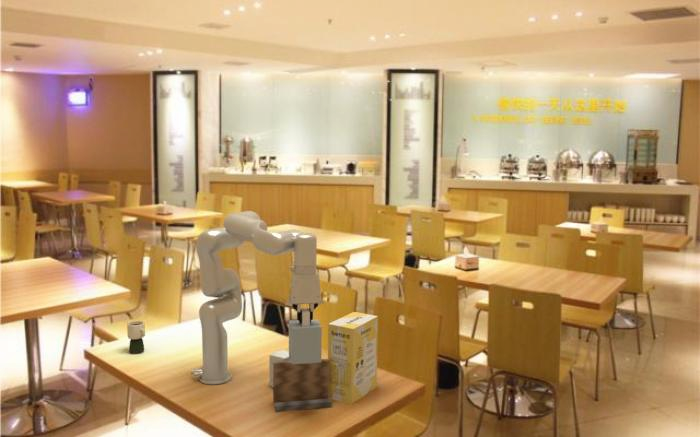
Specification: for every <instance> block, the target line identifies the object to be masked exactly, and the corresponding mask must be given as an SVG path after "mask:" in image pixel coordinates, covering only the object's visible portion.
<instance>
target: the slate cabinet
mask: <svg viewBox="0 0 700 437" xmlns="http://www.w3.org/2000/svg"><path fill="white" fill-rule="evenodd" d="M301 312H302V324H300V323H299V321H298V320H297V319H296V320H295V319H294V320H288V351H289V357H291V363H292V364H306V363H321V359H322V343H323V342H322V337H323V336H322V331H323V330H322V325H321V324H320V321H319V320H318V318H315V319H314V318H313V320H311V323H310V311H309V306H308V307H301Z"/></svg>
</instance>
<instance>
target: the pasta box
mask: <svg viewBox="0 0 700 437" xmlns="http://www.w3.org/2000/svg"><path fill="white" fill-rule="evenodd" d="M378 325H379V316H378V315H374V314H368V313H364V312H356V311H353V312H350V313H348V314H347V315H344V316H342V317H340V318H337V319H336V320H334V321H332V322H330V323H328V325H327V326H328V327H327V333H328V334H327V359H329V398H331V400H335V401H338V402H342V403H346V404H350V405H353V404H354V403H356V402H357V401H358V400H360V399H362V398H363V397H365V395H367V394H369V393H370V392H371V391H373V390H374V389H376V388H377V382H378V381H377V376H378V375H377V373H378V338H379V337H378V336H379V335H378V332H379V330H378V328H379V326H378Z"/></svg>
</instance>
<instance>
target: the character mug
mask: <svg viewBox="0 0 700 437" xmlns="http://www.w3.org/2000/svg"><path fill="white" fill-rule="evenodd" d="M145 329H146V328H145V321H143V320H132V321H129V322H127V325H126V330H127V338H128V339H129V347H128V348H129V349H128V352H129V353H132V354H136V353H138V352H139V353H141V352H144V351H145V344H144V339H143V338H144V337H145V336H146V330H145Z"/></svg>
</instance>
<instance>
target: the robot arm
mask: <svg viewBox="0 0 700 437" xmlns="http://www.w3.org/2000/svg"><path fill="white" fill-rule="evenodd" d="M222 225H223V226H222V227H216V228H210V229H207V230H204V231H202V232H201V233H199V235H198V236H197V239H196V241H195V242H196V243H195V249H196V253H197V258H198V261H199V263H198V264H199V273H200V274H199V275H200V287H201V292H202V294H203V295H204V296H205V297H208V298H209V297H210V298H212V297H217V296H221V295H222V297H217V298H214V299H209V300H208V301H206V302H204V303H202V305H201V306H200V307H199V310H198V316H199V320H200V321H199V322H200V325H201V326H200V328H201V342H202V344H201V345H202V348H201V349H202V365H201V367H200V368H198V369H197V368H196V369H195V368H191V369H190V374H191V375H193V376H194V377H198V380H199V382H200V383H203V384H205V385H221V384H226V383H228V382H229V381H231V379H233V378H232V377H233V374H232V373H231V372H230V371H228V370H229V367H228V361H229V360H228V359H229V357H228V351H229V349H228V332H227V330H226V328H225V327H224V325H223V323H225V322H228V321H232V320H235V319H237V318H239V316H241V313H242V311H243V299H242V298H243V297H242V286H241V284H242V283H241V278H240V275H239V274H238V272H237V271H236V270H235V269H233V268H231V267H229V268H224V267H223V260H222V257H221V256H220V254H219V252H218V251H225V250H229V249H236V248H238V247H240V246H242V245H243V244H244V243H246V242H247V241H248V242H251V243H252V245H253V247H254V248H256V250H258V251H260V252H263V253H265V254H269V255H273V256H280V255H283V254H288V253H293V255H294V256H293V265H292V266H290V267H289V271H290V272H291V271H292V272H293V273H292V274H291V278H290V287H289V288H290V289H289V297H288V298H287V300H286V302H285V304H286V305H287V306H289V307H292V308H293V309H294V310H295V311H296V320H298V321H299V323H300V324H302V312H301V308H302V305H307V304H308V309H309V311H310V323H311V320H313V319H314V311H315V309H316V308H318V306H320V305H322V304H324V299H323V297H322V295H321V294H322V292H321V290H322V289H321V278H320V274H319V273H318V272H317V248H318V247H317V236H316V234H314V233H309V232H302V231H300V230H296V229H290V230H283V231H278V232H277V231H276V232H271V231H268V225H267V223H266V222H265V221H264V220H263V219H261V218H260V215H259V214H258V213H257V212H254V211H253V210H245V211H239V212H232V213H230V214H228V215H227V216H226V217H225V218H224V220H223V224H222Z"/></svg>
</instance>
